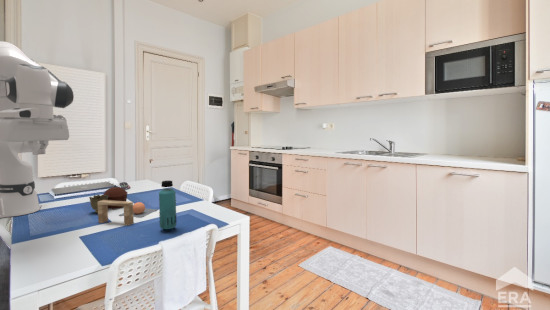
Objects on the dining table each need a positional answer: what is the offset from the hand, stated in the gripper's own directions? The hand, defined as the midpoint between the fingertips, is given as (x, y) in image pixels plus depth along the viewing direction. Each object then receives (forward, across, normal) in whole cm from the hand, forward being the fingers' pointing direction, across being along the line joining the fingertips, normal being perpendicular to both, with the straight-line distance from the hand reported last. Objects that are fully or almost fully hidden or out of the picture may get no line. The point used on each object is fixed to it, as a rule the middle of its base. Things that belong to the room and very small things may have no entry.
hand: (39, 154), depth 90 cm
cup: (+31, -32, -8) cm, 45 cm away
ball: (+28, -34, +11) cm, 46 cm away
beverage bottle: (+31, -19, +36) cm, 51 cm away
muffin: (+31, -42, -8) cm, 53 cm away
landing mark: (+31, -36, +10) cm, 49 cm away
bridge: (+31, -22, +10) cm, 39 cm away
